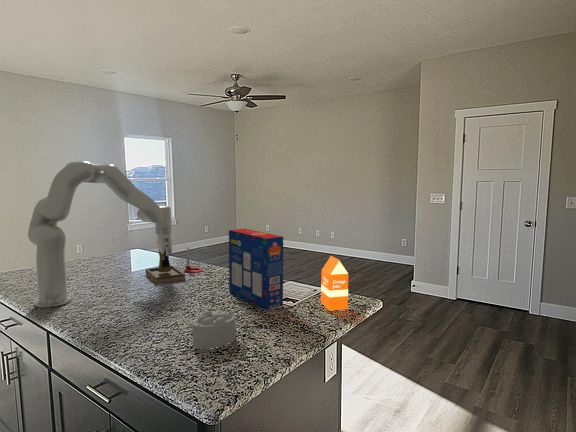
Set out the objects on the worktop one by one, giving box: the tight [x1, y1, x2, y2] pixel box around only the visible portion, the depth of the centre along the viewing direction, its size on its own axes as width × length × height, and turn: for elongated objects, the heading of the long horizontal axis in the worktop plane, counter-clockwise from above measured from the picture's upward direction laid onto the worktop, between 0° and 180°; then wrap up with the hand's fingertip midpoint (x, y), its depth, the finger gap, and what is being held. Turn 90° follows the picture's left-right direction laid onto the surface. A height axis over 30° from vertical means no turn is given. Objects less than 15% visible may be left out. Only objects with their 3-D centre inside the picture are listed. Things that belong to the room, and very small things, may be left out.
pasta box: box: [228, 228, 284, 311], centre depth 152 cm, size 28×8×28 cm, turn 39°
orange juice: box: [320, 255, 349, 311], centre depth 143 cm, size 8×9×20 cm
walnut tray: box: [145, 265, 186, 285], centre depth 186 cm, size 20×14×3 cm
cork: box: [158, 250, 171, 272], centre depth 185 cm, size 6×6×11 cm
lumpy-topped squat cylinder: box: [191, 309, 237, 349], centre depth 113 cm, size 10×13×9 cm
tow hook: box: [183, 247, 204, 274], centre depth 199 cm, size 8×13×9 cm
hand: (164, 266), depth 185 cm, fingers closed on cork, 4 cm apart
